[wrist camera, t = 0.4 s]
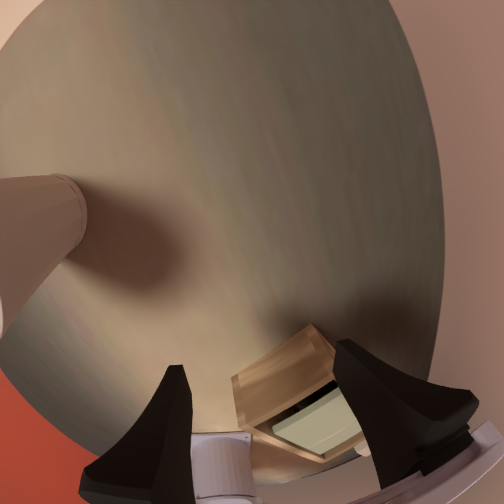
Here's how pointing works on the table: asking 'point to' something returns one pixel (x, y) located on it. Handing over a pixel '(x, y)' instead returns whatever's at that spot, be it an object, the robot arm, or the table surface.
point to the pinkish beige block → (363, 448)
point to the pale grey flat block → (320, 424)
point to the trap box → (286, 389)
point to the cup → (35, 235)
